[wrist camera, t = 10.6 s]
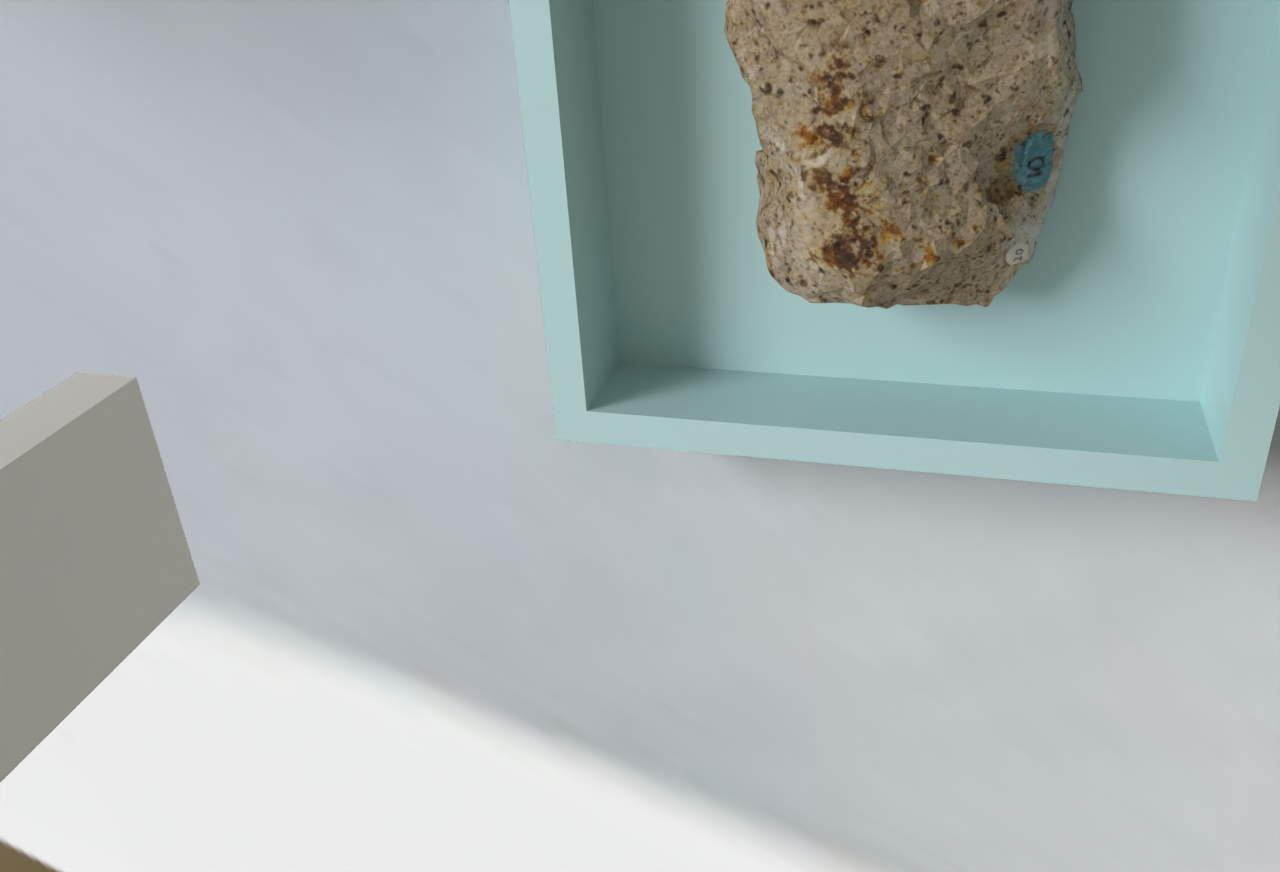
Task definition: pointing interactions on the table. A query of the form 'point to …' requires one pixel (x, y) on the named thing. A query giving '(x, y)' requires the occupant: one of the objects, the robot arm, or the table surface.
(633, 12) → the tray
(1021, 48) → the rock
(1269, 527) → the table surface
